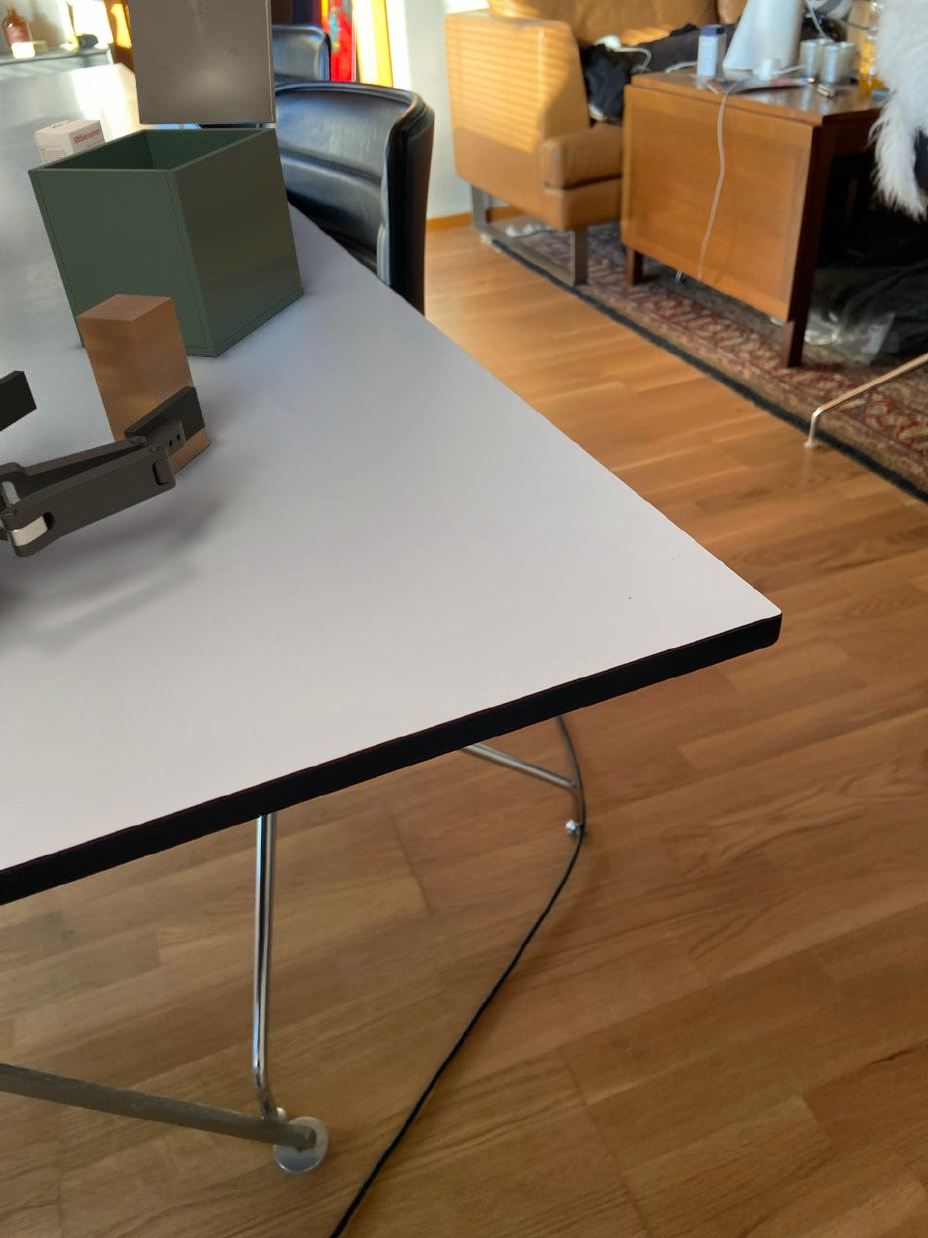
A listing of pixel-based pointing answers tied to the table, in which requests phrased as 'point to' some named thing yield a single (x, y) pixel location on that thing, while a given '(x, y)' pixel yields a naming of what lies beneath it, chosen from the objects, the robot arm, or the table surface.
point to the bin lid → (203, 61)
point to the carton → (138, 362)
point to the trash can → (176, 228)
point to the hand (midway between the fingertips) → (108, 397)
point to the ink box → (68, 138)
